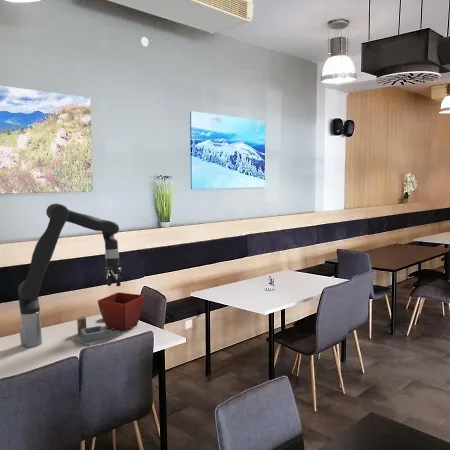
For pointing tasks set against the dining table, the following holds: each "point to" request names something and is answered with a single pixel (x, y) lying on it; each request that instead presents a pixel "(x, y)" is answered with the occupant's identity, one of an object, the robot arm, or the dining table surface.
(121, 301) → the plant pot
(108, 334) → the well board
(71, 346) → the dining table surface
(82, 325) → the walnut post
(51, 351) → the dining table surface
